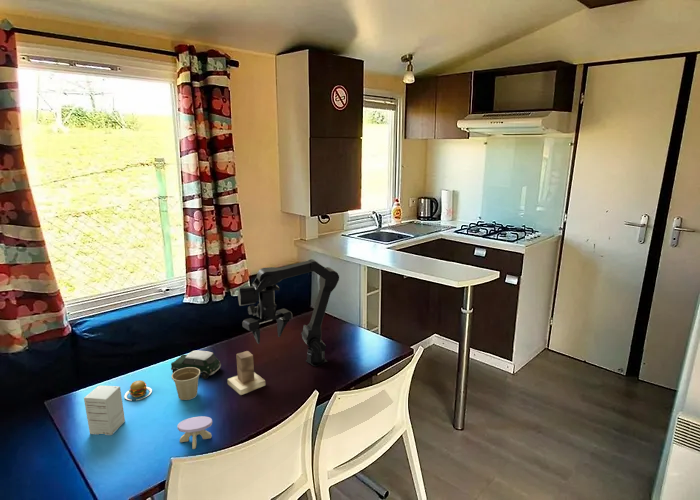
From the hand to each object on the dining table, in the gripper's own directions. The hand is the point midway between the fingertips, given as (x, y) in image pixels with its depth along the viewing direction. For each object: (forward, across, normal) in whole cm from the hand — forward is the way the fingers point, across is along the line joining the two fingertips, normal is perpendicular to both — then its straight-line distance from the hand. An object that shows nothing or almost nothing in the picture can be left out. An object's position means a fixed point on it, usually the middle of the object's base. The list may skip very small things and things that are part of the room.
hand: (268, 340), depth 170 cm
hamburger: (+14, +44, -17) cm, 49 cm away
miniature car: (+14, +22, -19) cm, 32 cm away
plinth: (+13, +12, +3) cm, 18 cm away
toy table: (+13, +38, +21) cm, 46 cm away
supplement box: (+13, +57, -3) cm, 59 cm away
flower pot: (+13, +31, -4) cm, 34 cm away
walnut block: (+11, +12, +3) cm, 16 cm away
